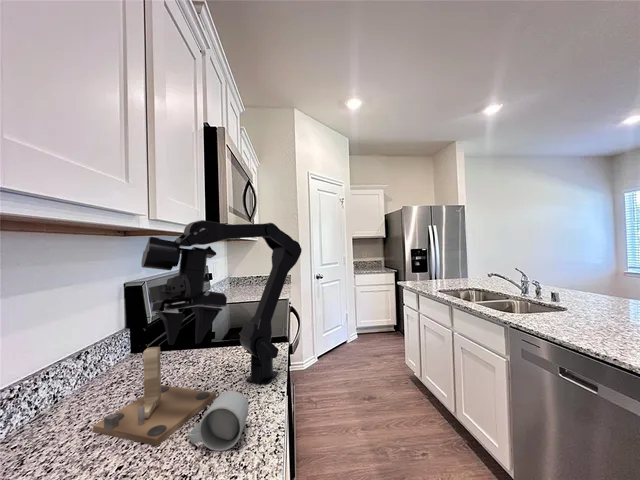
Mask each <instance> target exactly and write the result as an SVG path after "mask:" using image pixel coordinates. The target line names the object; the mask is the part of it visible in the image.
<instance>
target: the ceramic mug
mask: <svg viewBox="0 0 640 480" xmlns="http://www.w3.org/2000/svg"><path fill="white" fill-rule="evenodd" d="M248 416H249V403H248V399H247V398H246V396H245V395H244V394H243V393H241V392H240V391H235V390H229V391H225V392H223V393H221V394H220V395H219V396H218V397H216V398H215V399H214V400H213V402H212V404H211V405H210V406H209V408H208V409H207V411H206V412H205V413H204V414H203V416H202V418H201V420H200V422H198V423H197V424H195V426H193V427H192V429H191V430H190V431H189V432H188V438H189V439H190V442H191V444H198V443H201V442H202V444H203V445H204V447H207V448H208V449H210V450H211V451H216V452H224V451H227V450H229V449H232V448H233V447H235V445H237V443H238V442H239V440H240V438H241V436H242V433H243V430H244V428H245V424H246V421H247V419H248Z"/></svg>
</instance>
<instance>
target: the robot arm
mask: <svg viewBox="0 0 640 480" xmlns="http://www.w3.org/2000/svg"><path fill="white" fill-rule="evenodd" d="M245 238H246V239H248V238H262V239H263V240H264V242H265V243H266V245H267V246H268V247H269V249H270V250H271V251H272V252H271V269H270V272H269V276H268V278H267V281H266V284H265V286H264V289H263V292H262V295H261V297H260V300H259V302H258V305H257V308H256V311H255V314H254V316H253V317H252V318H251V319H250V320H248V319H245V320H244V322H243V325H242V329H241V330H240V332H238V335H240V336H239V342H240V345H241V346H242V348H243V349H246V352H247V354H250V355H251V356H250V375H249V377H248V376H247V378H246V382H248V383H254V384H255V383H256V384H263V385H268V384H270V383H271V381H273V379H275V377H277V375H279V372H278V371H276V370H275V371H274V363H273V360H274V359H275V358H277V357H278V354H279V351H280V350H279V348H278V347H277V346H275V344H273V342H271V341H272V335H273V328H272V320H273V317H274V315H275V311H276V308H277V305H278V302H279V299H280V297H281V295H282V290H284V289H283V288H284V285H285V283H286V280H287V278H288V275H289V272H290V271H291V270H292V269H293V267H295V266H296V264H298V263H297V262H298V261H299V258H300V257H301V255H302V251H303V250H302V249H303V248H302V246H301V244H300V243H299V242H298V241H297V240H294V239H293V238H292V237H291V236H290V235H288V234H287V233H286V232H284V231H283V230H282V229H280V228H279V227H278V226H277V225H276V224H275V223H273V222H266V223H245V224H243V223H242V224H241V223H239V224H235V223H233V224H226V223H220V222H218V221H212V220H204V219H201V220H196V221H192V222H190V223H188V224H186V226H185V227H184V229H183V233H181V235H180V236H179V237H177V238H175V240H167V239H162V238H159V237H154V236H149V237H148V241H147V243H146V246H145V249H144V250H143V252H142V258H141V268H143V269H144V268H145V269H153V270H154V269H155V270H162V271H172V269H173V268H174V267H175V268H176V267H178V265H179V269H178V275H176V276H174V277H170V278H167V280H166V283H164V284H160V285H154V286H150V287H148V291H149V297H150V301H151V303H152V308H151V313H154V314H155V316H158V317H159V318H160V319H161V320H162V323H163V324H164V325H163V327H164V329H165V334H166V339H167V344H168V345H171V346H172V345H175V342H176V340H177V337H178V335H179V332H180V329H181V326H182V323H183V322H184V318H185V316H186V314H185V313H184V312H185V310H186V309H187V308H190V309H191V311H192V312H193V313H194V316H195V330H194V332H195V333H194V336H195V337H194V339H195V341H194V343H195V344H201V343H202V341H203V340H204V338H205V337H206V335H207V333H208V331H209V329H210V328H211V326H212V324H213V323H214V321H215V320H216V318H217V316H218V314H219V313H220V312H223V308H225V307H226V308H227V305H228V303H227V302H228V297H227V295H226V293H223V292H218V291H217V292H216V291H210V290H205V283H209V280H210V278H209V277H208V276H206V270H207V261H208V260H207V259H212V258H214V257H215V256H217V252H216V251H215V250H214V249H212V247H211V246H210V245H209V244H213V243H217V242H218V243H219V242H221V241H225V240H228V239H229V240H231V239H232V240H233V239H245ZM204 245H205V246H206V245H209V246H207V247H205V248H203V247H197V246H204ZM192 246H193V247H192ZM183 247H189V248H183ZM190 247H192V248H190Z"/></svg>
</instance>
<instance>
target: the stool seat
mask: <svg viewBox="0 0 640 480" xmlns="http://www.w3.org/2000/svg"><path fill="white" fill-rule="evenodd" d="M216 395H217V394H216V392H211V391H205V390H198V389H192V388H186V387H180V386H178V387H177V386H171V385H163V384H161V400H160V402H159V404H158V405H156V406H155V408H154V410H153V411H152V413H151V415H150V416H149V418H145V406H143V405H144V395H143V396H141V397H139V398H137V399H135V400H134V401H132V402H130V403H129V404H127V405H126V406H124V407H122V408H121V409H119V410H117V411H115V412H114V413H109V414H108V415H106V416H104V417H103V419H102V420H100V421H99V422H97V423H95V424H94V425H92V432H93V433H98V434H100V435H101V434H102V435H106V436H111V437H113V438H114V437H115V438H120V439H123V438H125V439H124V440H128V439H129V440H128V441H132V440H133V442H137V443H141V444H146V445H150V446H155V447H157V446H159V445H160V444H161V443H162V442H164V441H165V440H167V438H168V437H170V436H171V435H172V434H173V433H175V432H176V431H177V430H179V428H181V427H182V426H183V425H184V424H186V423H187V422H188V421H189V420H191V419H192V418H193V417H194V416H195V415H197V414H199V412H201V411H202V410H203V409H204V408H206V407H207V406H208V405H209V404H210V403H211V402H214V401H215V400H216V399H217V397H216Z"/></svg>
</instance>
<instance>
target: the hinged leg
mask: <svg viewBox="0 0 640 480" xmlns="http://www.w3.org/2000/svg"><path fill="white" fill-rule="evenodd" d="M142 354H143V388H144V389H143V396H144V405H143V406H145V418H149V416H150V415H151V413H152V411H153V410H154V408H155V406H156V405H158V404H159V402H160V400H161V385H162V374H161V373H162V371H161V363H162V362H161V346H152V347H146V349H144V351H143V353H142Z"/></svg>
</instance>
